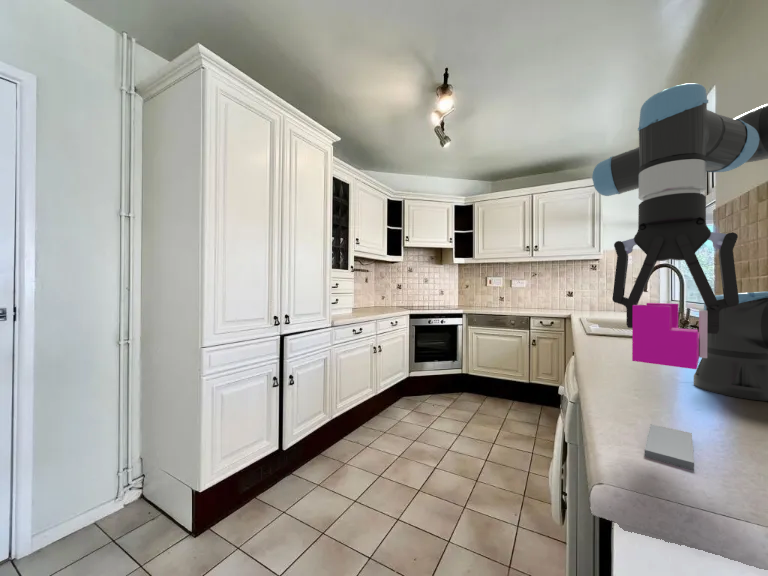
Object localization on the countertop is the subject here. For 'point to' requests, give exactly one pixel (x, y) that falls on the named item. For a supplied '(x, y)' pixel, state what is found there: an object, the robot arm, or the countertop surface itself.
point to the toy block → (663, 337)
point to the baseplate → (670, 446)
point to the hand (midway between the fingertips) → (669, 352)
